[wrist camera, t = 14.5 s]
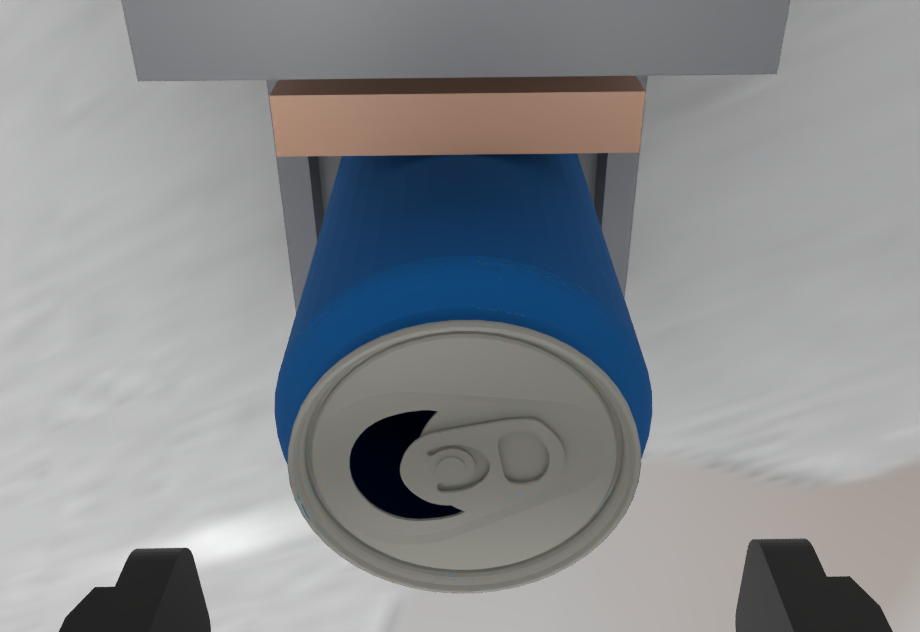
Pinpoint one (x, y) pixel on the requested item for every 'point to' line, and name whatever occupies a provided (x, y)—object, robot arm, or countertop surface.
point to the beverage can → (462, 373)
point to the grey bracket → (451, 65)
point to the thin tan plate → (457, 116)
